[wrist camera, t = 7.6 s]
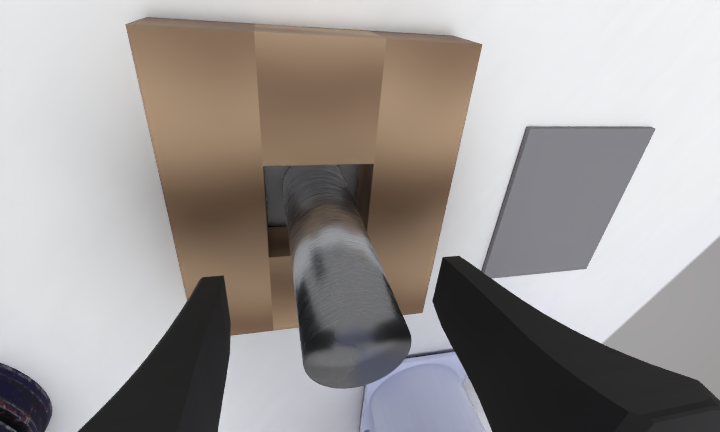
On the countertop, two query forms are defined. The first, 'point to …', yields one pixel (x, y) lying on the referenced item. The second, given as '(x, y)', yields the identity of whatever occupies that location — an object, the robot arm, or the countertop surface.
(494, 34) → the countertop surface
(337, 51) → the walnut hole block
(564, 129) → the rubber mat
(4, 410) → the storage jar
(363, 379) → the steel peg
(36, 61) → the countertop surface
